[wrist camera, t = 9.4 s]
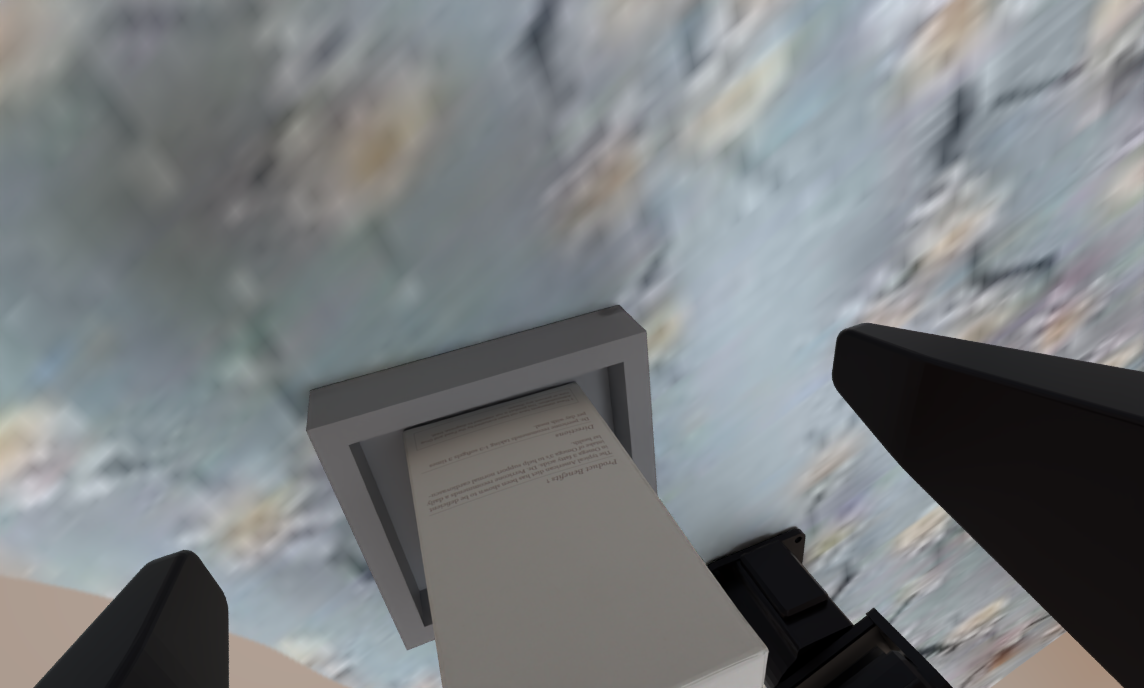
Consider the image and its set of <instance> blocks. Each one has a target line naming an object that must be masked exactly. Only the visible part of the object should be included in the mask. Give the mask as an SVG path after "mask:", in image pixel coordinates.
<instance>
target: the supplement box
mask: <svg viewBox="0 0 1144 688" xmlns="http://www.w3.org/2000/svg"><path fill="white" fill-rule="evenodd" d="M403 438H404V446H405V452H406V458H407V464H408V471H409V477H410V483H411V489H412V495H413V502H414V508H415V514H416V521H417V527H418V534H419V540H420V547H421V553H422V559H423V566H424V572H425V578H426V585H427V591H428V597H429V603H430V610H431V616H432V622H433V629H434V635H435V641H436V648H437V654H438V660H439V667H440V673H441V680H442V687H443V688H763V685H764V678H765V672H766V664H767V658H768V653H769V651H768V648H767V646H766V645H765V644H764V643H763V641H762V640H761V639H760V638H759V636H758V635H757V634H756V632H755V631H754V630H753V629H752V627H751V626H750V625H749V624H748V622H747V621H746V620H745V618H744V617H743V616H742V614H741V613H740V612H739V610H738V609H737V608H736V606H735V605H734V604H733V602H732V601H731V599H730V598H729V597H728V595H727V594H726V592H725V591H724V590H723V588H722V587H721V585H720V584H719V583H718V581H717V580H716V578H715V577H714V576H713V574H712V573H711V572H710V570H709V569H708V567H707V566H706V565H705V563H704V562H703V560H702V559H701V558H700V556H699V555H698V553H697V552H696V550H695V549H694V547H693V546H692V544H691V543H690V542H689V540H688V539H687V537H686V536H685V534H684V533H683V532H682V530H681V529H680V527H679V526H678V524H677V523H676V522H675V520H674V519H673V517H672V516H671V515H670V513H669V512H668V510H667V509H666V507H665V506H664V505H663V503H662V502H661V500H660V499H659V497H658V496H657V494H656V493H655V492H654V490H653V489H652V487H651V486H650V485H649V483H648V482H647V480H646V479H645V478H644V476H643V475H642V473H641V472H640V470H639V469H638V468H637V466H636V465H635V463H634V462H633V460H632V459H631V457H630V456H629V454H628V453H627V452H626V450H625V449H624V447H623V446H622V445H621V443H620V442H619V440H618V439H617V438H616V436H615V435H614V433H613V432H612V431H611V429H610V428H609V426H608V425H607V423H606V422H605V421H604V419H603V418H602V417H601V416H600V414H599V413H598V412H597V410H596V409H595V407H594V406H593V405H592V403H591V402H590V400H589V399H588V398H587V396H586V395H585V393H584V392H583V391H582V389H581V388H580V387H579V385H578V384H577V383H576V382H573V383H569V384H566V385H563V386H560V387H556V388H553V389H549V390H546V391H542V392H539V393H535V394H532V395H528V396H525V397H522V398H518V399H515V400H511V401H508V402H504V403H501V404H497V405H494V406H490V407H487V408H483V409H480V410H476V411H473V412H469V413H466V414H462V415H459V416H455V417H452V418H448V419H445V420H441V421H438V422H434V423H431V424H427V425H424V426H420V427H417V428H413V429H410V430H406V431H404V432H403Z"/></svg>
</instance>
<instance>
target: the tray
mask: <svg viewBox="0 0 1144 688" xmlns="http://www.w3.org/2000/svg"><path fill="white" fill-rule="evenodd" d="M573 382H576V383H577V384H578V385H579V387H580V388H581V389H582V391H583V392H584V393H585V395H586V396H587V398H588V399H589V400H590V402H591V403H592V405H593V406H594V407H595V409H596V410H597V412H598V413H599V414H600V416H601V417H602V418H603V419H604V421H605V422H606V423H607V425H608V426H609V428H610V429H611V431H612V432H613V433H614V435H615V436H616V438H617V439H618V440H619V442H620V443H621V445H622V446H623V447H624V449H625V450H626V452H627V453H628V454H629V456H630V457H631V459H632V460H633V462H634V463H635V465H636V466H637V468H638V469H639V470H640V472H641V473H642V475H643V476H644V478H645V479H646V480H647V482H648V483H649V485H650V486H651V487H652V489H653V490H654V492H655V493H656V494H657V483H656V468H655V453H654V438H653V423H652V408H651V392H650V377H649V362H648V347H647V332H646V330H645V329H644V328H643V327H641V326H640V325H639V324H638V323H637V322H636V321H635V320H634V319H633V318H632V317H631V316H630V315H629V314H628V313H627V312H626V311H625V310H624V309H623V308H622V307H621V306H620V305H617V306H614V307H610V308H606V309H603V310H599V311H596V312H592V313H588V314H585V315H581V316H578V317H574V318H570V319H567V320H563V321H560V322H556V323H552V324H549V325H545V326H542V327H538V328H534V329H531V330H527V331H524V332H520V333H516V334H513V335H509V336H506V337H502V338H498V339H495V340H491V341H487V342H484V343H480V344H477V345H473V346H469V347H466V348H462V349H459V350H455V351H451V352H448V353H444V354H441V355H437V356H433V357H430V358H426V359H423V360H419V361H415V362H412V363H408V364H405V365H401V366H397V367H394V368H390V369H387V370H383V371H379V372H376V373H372V374H369V375H365V376H361V377H358V378H354V379H351V380H347V381H343V382H340V383H336V384H332V385H329V386H325V387H322V388H318V389H314V390H311V391H310V397H309V407H308V418H307V428H306V431H307V434H308V436H309V438H310V440H311V442H312V444H313V447H314V449H315V451H316V453H317V455H318V457H319V460H320V462H321V464H322V466H323V468H324V471H325V473H326V475H327V477H328V479H329V481H330V484H331V486H332V488H333V490H334V492H335V495H336V497H337V499H338V501H339V503H340V505H341V508H342V510H343V512H344V514H345V516H346V518H347V521H348V523H349V525H350V527H351V529H352V532H353V534H354V536H355V538H356V540H357V542H358V545H359V547H360V549H361V551H362V553H363V556H364V558H365V560H366V562H367V564H368V566H369V569H370V571H371V573H372V575H373V577H374V579H375V582H376V584H377V586H378V588H379V590H380V593H381V595H382V597H383V599H384V601H385V603H386V606H387V608H388V610H389V612H390V614H391V617H392V619H393V621H394V623H395V625H396V627H397V630H398V632H399V634H400V636H401V638H402V640H403V643H404V645H405V647H406V649H407V650H409V649H412V648H414V647H417V646H419V645H422V644H425V643H427V642H430V641H432V640H435V635H434V629H433V622H432V616H431V610H430V603H429V597H428V591H427V585H426V578H425V572H424V566H423V559H422V553H421V547H420V540H419V534H418V527H417V521H416V514H415V508H414V502H413V495H412V489H411V483H410V477H409V471H408V464H407V458H406V452H405V446H404V438H403V432H404V431H406V430H410V429H413V428H417V427H420V426H424V425H427V424H431V423H434V422H438V421H441V420H445V419H448V418H452V417H455V416H459V415H462V414H466V413H469V412H473V411H476V410H480V409H483V408H487V407H490V406H494V405H497V404H501V403H504V402H508V401H511V400H515V399H518V398H522V397H525V396H528V395H532V394H535V393H539V392H542V391H546V390H549V389H553V388H556V387H560V386H563V385H566V384H569V383H573Z"/></svg>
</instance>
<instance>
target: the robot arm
mask: <svg viewBox="0 0 1144 688" xmlns="http://www.w3.org/2000/svg"><path fill="white" fill-rule="evenodd" d="M832 380H833V383H834V386H835V388H836V390H837V391H838V392H839V394H840V395H841V396H842V397H843V398H844V399H845V401H846V402H847V403H848V404H849V405H850V407H851V408H852V409H853V410H854V411H855V413H856V414H857V415H858V416H859V417H860V419H861V420H862V421H863V422H864V423H865V425H866V426H867V427H868V428H869V429H870V431H871V432H872V433H873V434H874V435H875V437H876V438H877V439H878V440H879V441H880V443H881V444H882V445H883V446H884V447H885V449H886V450H887V451H888V452H889V453H890V454H891V456H892V457H893V458H894V459H895V460H896V461H897V462H898V464H899V465H900V466H901V467H902V468H903V469H904V470H905V471H906V472H907V473H908V474H909V475H910V476H911V477H912V478H913V479H914V480H915V481H916V482H917V483H918V484H919V485H920V486H921V487H922V488H923V489H924V490H925V491H926V492H927V493H928V494H929V495H930V496H931V497H932V498H933V499H934V500H935V501H936V502H937V503H938V504H939V505H940V506H941V507H942V508H943V509H944V510H945V511H946V512H947V513H948V514H949V515H950V516H951V517H952V518H953V519H954V520H955V521H956V522H957V523H958V524H959V525H960V526H961V527H962V528H963V529H964V530H965V531H966V532H967V533H968V534H969V535H970V536H971V537H972V538H973V539H974V540H975V541H976V542H977V543H978V544H979V545H980V546H981V547H982V548H983V549H984V550H985V551H986V552H987V553H988V554H989V555H990V556H991V557H992V558H993V559H994V560H995V561H996V562H997V563H998V564H999V565H1001V566H1002V567H1003V568H1004V569H1005V570H1006V571H1007V572H1008V573H1009V574H1010V575H1011V576H1012V577H1013V578H1014V579H1015V580H1016V581H1017V582H1018V583H1019V584H1020V585H1021V586H1022V587H1023V588H1024V589H1025V590H1026V591H1027V592H1028V593H1029V594H1030V595H1031V596H1032V597H1033V598H1034V599H1035V600H1036V601H1037V602H1038V603H1039V604H1040V605H1041V606H1042V607H1043V608H1044V609H1045V610H1046V611H1047V612H1048V613H1049V614H1050V615H1051V616H1052V617H1053V618H1054V619H1055V620H1056V621H1057V622H1058V623H1059V624H1060V625H1061V626H1062V627H1063V628H1064V629H1065V630H1066V631H1067V632H1068V633H1069V634H1070V635H1071V636H1072V637H1073V638H1074V639H1075V640H1076V641H1077V642H1078V643H1079V644H1080V645H1081V646H1082V647H1083V648H1084V649H1085V650H1086V651H1087V652H1088V653H1089V654H1090V655H1091V656H1092V657H1093V658H1095V660H1096V661H1097V662H1098V663H1099V664H1101V666H1102V667H1103V668H1104V669H1105V670H1106V671H1107V672H1108V673H1109V674H1110V675H1111V676H1113V677H1114V678H1115V679H1116V680H1117V681H1118V682H1119V683H1120V684H1121V685H1122V686H1123V687H1124V688H1144V372H1142V371H1136V370H1130V369H1125V368H1119V367H1114V366H1108V365H1102V364H1097V363H1091V362H1086V361H1080V360H1074V359H1069V358H1063V357H1058V356H1052V355H1046V354H1041V353H1035V352H1029V351H1024V350H1018V349H1013V348H1007V347H1001V346H996V345H990V344H985V343H979V342H973V341H968V340H962V339H956V338H951V337H945V336H940V335H934V334H928V333H923V332H917V331H912V330H906V329H900V328H895V327H889V326H884V325H878V324H872V323H862V324H858V325H855V326H852V327H849V328H846V329H844V330H842V331H841V332H840V333H839V335H838V337H837V340H836V347H835V354H834V362H833V369H832ZM804 545H805V534H804V533H803V532H802V531H801V530H800V529H794V530H792V531H789V532H787V533H784V534H782V535H779V536H777V537H774V538H772V539H769V540H767V541H764V542H762V543H760V544H757V545H755V546H752V547H750V548H747V549H745V550H742V551H740V552H737V553H735V554H733V555H730V556H728V557H725V558H723V559H720V560H718V561H715V562H713V563H711V564H710V565H709V566H708V569H709V570H710V572H711V573H712V574H713V576H714V577H715V578H716V580H717V581H718V583H719V584H720V585H721V587H722V588H723V590H724V591H725V592H726V594H727V595H728V597H729V598H730V599H731V601H732V602H733V604H734V605H735V606H736V608H737V609H738V610H739V612H740V613H741V614H742V616H743V617H744V618H745V620H746V621H747V622H748V624H749V625H750V626H751V627H752V629H753V630H754V631H755V632H756V634H757V635H758V636H759V638H760V639H761V640H762V641H763V643H764V644H765V645H766V646H767V648H768V651H769V653H768V658H767V664H766V672H765V678H764V684H765V686H766V687H767V688H952V686H951V685H950V684H949V683H948V682H947V681H946V680H945V679H944V678H943V677H942V676H941V675H940V673H939V672H938V671H937V670H936V669H935V668H934V667H933V666H932V665H931V664H930V663H929V662H928V661H927V660H926V659H925V658H924V657H923V656H922V655H921V654H920V653H919V652H918V651H917V650H916V649H915V648H914V647H913V646H912V645H911V644H910V643H909V642H908V641H907V640H906V639H905V638H904V637H903V636H902V635H901V634H900V633H899V632H898V631H897V630H896V629H895V628H894V627H893V626H892V625H891V624H890V623H889V622H888V621H887V620H886V619H885V618H884V617H883V616H882V615H881V614H880V613H879V612H878V611H877V610H876V609H875V608H872V609H871V610H870V611H869V612H867V613H866V615H867V616H865V617H864V618H863V619H862V620H860V621H859V622H858V623H856V624H855V625H853V624H852V623H851V621H850V620H849V619H848V618H847V617H846V616H845V614H844V613H843V612H842V611H841V610H840V609H839V608H838V606H837V605H836V604H835V603H834V602H833V601H832V600H831V598H830V597H829V596H828V594H827V593H826V591H825V590H824V589H823V588H822V587H821V586H820V584H819V583H818V582H817V581H816V580H815V579H814V578H813V576H812V575H811V574H810V573H809V572H808V571H807V570H806V568H805V567H804V566H803V565H802V561H803V553H804ZM228 639H229V627H228V605H227V601H226V597H225V595H224V593H223V591H222V589H221V588H220V587H219V585H218V584H217V582H216V581H215V580H214V578H213V577H212V575H211V574H210V572H209V571H208V570H207V568H206V567H205V565H204V564H203V563H202V561H201V560H200V558H199V557H198V556H197V555H196V554H195V553H194V552H192V551H189V550H182V551H179V552H176V553H173V554H170V555H167V556H164V557H161V558H158V559H155V560H153V561H151V562H149V563H147V564H146V565H145V566H144V567H143V568H142V569H141V570H140V571H139V572H138V573H137V574H136V575H135V577H134V578H133V579H132V580H131V581H130V582H129V583H128V584H127V585H126V586H125V588H124V589H123V590H122V591H121V592H120V593H119V594H118V595H117V596H116V597H115V599H114V600H113V601H112V602H111V603H110V604H109V605H108V606H107V607H106V609H105V610H104V611H103V612H102V613H101V614H100V615H99V616H98V617H97V618H96V619H95V621H94V622H93V623H92V624H91V625H90V626H89V627H88V628H87V629H86V631H85V632H84V633H83V634H82V635H81V636H80V637H79V638H78V639H77V641H76V642H75V643H74V644H73V645H72V646H71V647H70V648H69V649H68V650H67V651H66V653H65V654H64V655H63V656H62V657H61V658H60V659H59V660H58V661H57V662H56V663H55V665H54V666H53V667H52V668H51V669H50V670H49V671H48V672H47V673H46V675H45V676H44V677H43V678H42V679H41V680H40V681H39V682H38V683H37V684H36V686H35V687H34V688H229V640H228Z"/></svg>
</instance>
